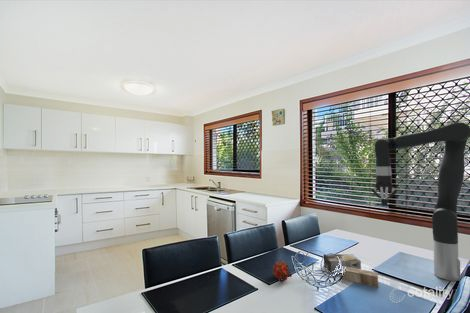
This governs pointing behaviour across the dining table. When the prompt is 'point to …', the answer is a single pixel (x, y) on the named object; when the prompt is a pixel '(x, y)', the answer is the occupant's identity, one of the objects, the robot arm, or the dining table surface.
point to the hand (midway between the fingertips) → (384, 205)
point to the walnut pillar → (361, 276)
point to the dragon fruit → (281, 270)
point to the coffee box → (346, 259)
